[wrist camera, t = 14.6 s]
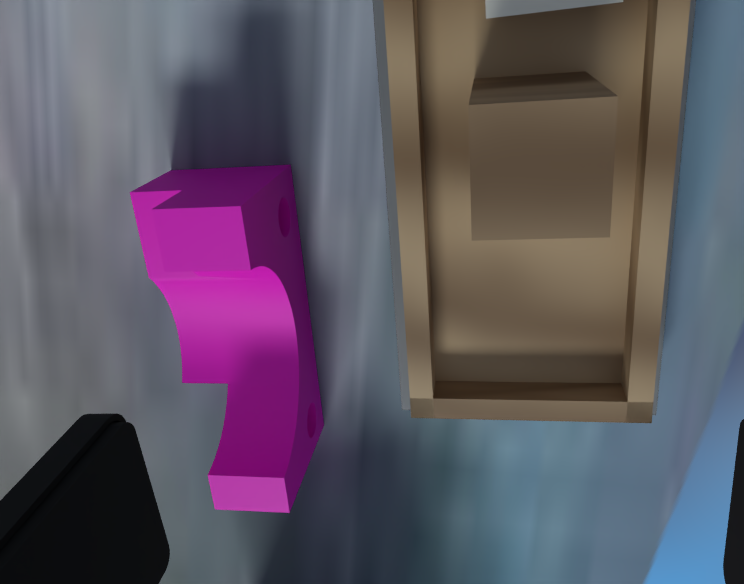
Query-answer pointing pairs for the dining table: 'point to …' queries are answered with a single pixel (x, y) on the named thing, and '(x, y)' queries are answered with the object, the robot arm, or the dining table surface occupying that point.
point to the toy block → (240, 319)
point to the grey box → (535, 6)
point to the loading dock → (392, 199)
